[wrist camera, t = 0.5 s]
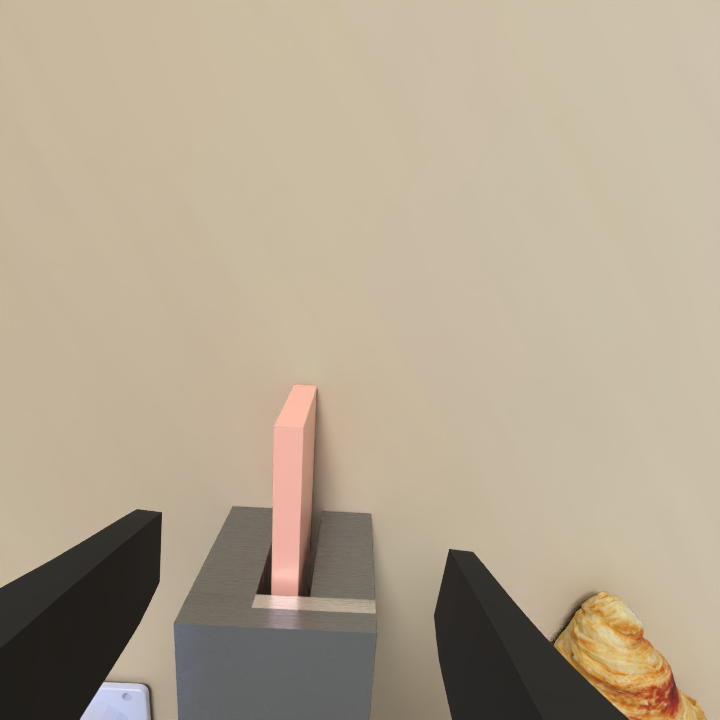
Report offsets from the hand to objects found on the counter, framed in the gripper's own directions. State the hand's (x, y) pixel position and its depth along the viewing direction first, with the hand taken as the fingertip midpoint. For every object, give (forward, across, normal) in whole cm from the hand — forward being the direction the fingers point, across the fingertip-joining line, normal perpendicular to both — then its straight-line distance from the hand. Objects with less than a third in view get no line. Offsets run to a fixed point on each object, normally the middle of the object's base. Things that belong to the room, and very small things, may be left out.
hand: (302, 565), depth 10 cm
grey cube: (+9, 0, +9) cm, 13 cm away
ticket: (+9, +1, +5) cm, 11 cm away
